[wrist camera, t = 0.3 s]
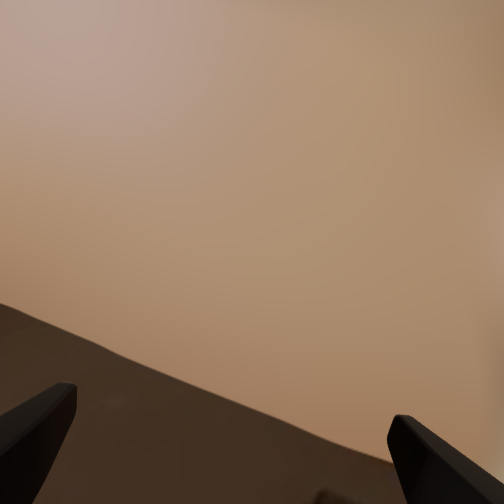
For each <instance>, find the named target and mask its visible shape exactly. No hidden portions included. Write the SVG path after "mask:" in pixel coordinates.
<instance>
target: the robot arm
mask: <svg viewBox="0 0 504 504" xmlns="http://www.w3.org/2000/svg"><path fill="white" fill-rule="evenodd" d="M76 408H77V385H76V384H75V383H72V382H58V383H56V384H54V385H53V386H51V387H49V388H47V389H46V390H44V391H42V392H40V393H39V394H37V395H35V396H33V397H32V398H30V399H28V400H26V401H25V402H23V403H21V404H20V405H18V406H16V407H14V408H13V409H11V410H9V411H7V412H6V413H4V414H2V415H0V504H32V503H33V501H34V499H35V498H36V496H37V494H38V492H39V491H40V489H41V487H42V485H43V483H44V481H45V479H46V477H47V475H48V473H49V471H50V469H51V467H52V465H53V462H54V460H55V458H56V456H57V454H58V452H59V449H60V447H61V445H62V443H63V441H64V439H65V437H66V434H67V432H68V430H69V428H70V426H71V424H72V421H73V419H74V417H75V413H76ZM387 444H388V448H389V451H390V454H391V457H392V460H393V463H394V466H395V469H396V472H397V475H398V478H399V481H400V484H401V487H402V490H403V493H404V495H405V498H406V501H407V504H504V484H503V483H502V482H500V481H499V480H497V479H496V478H495V477H493V476H492V475H491V474H489V473H488V472H486V471H485V470H484V469H482V468H481V467H480V466H478V465H477V464H476V463H474V462H473V461H471V460H470V459H469V458H467V457H466V456H465V455H463V454H462V453H460V452H459V451H458V450H456V449H455V448H454V447H452V446H451V445H450V444H448V443H447V442H446V441H444V440H443V439H441V438H440V437H439V436H437V435H436V434H434V433H433V432H432V431H430V430H429V429H428V428H426V427H425V426H424V425H422V424H421V423H420V422H418V421H417V420H416V419H414V418H413V417H411V416H409V415H399V414H398V415H396V416H395V417H394V419H393V421H392V424H391V427H390V430H389V432H388V435H387Z"/></svg>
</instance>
